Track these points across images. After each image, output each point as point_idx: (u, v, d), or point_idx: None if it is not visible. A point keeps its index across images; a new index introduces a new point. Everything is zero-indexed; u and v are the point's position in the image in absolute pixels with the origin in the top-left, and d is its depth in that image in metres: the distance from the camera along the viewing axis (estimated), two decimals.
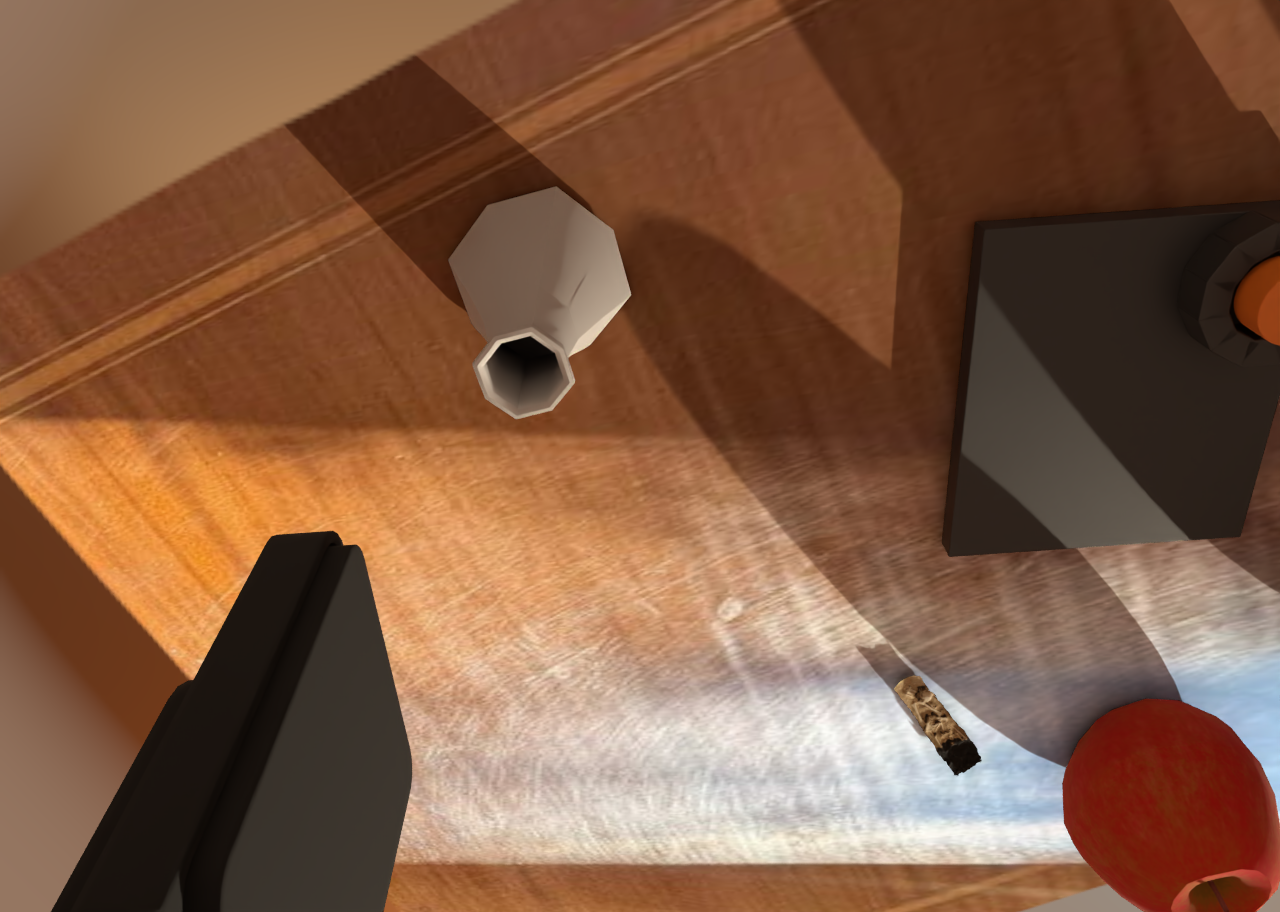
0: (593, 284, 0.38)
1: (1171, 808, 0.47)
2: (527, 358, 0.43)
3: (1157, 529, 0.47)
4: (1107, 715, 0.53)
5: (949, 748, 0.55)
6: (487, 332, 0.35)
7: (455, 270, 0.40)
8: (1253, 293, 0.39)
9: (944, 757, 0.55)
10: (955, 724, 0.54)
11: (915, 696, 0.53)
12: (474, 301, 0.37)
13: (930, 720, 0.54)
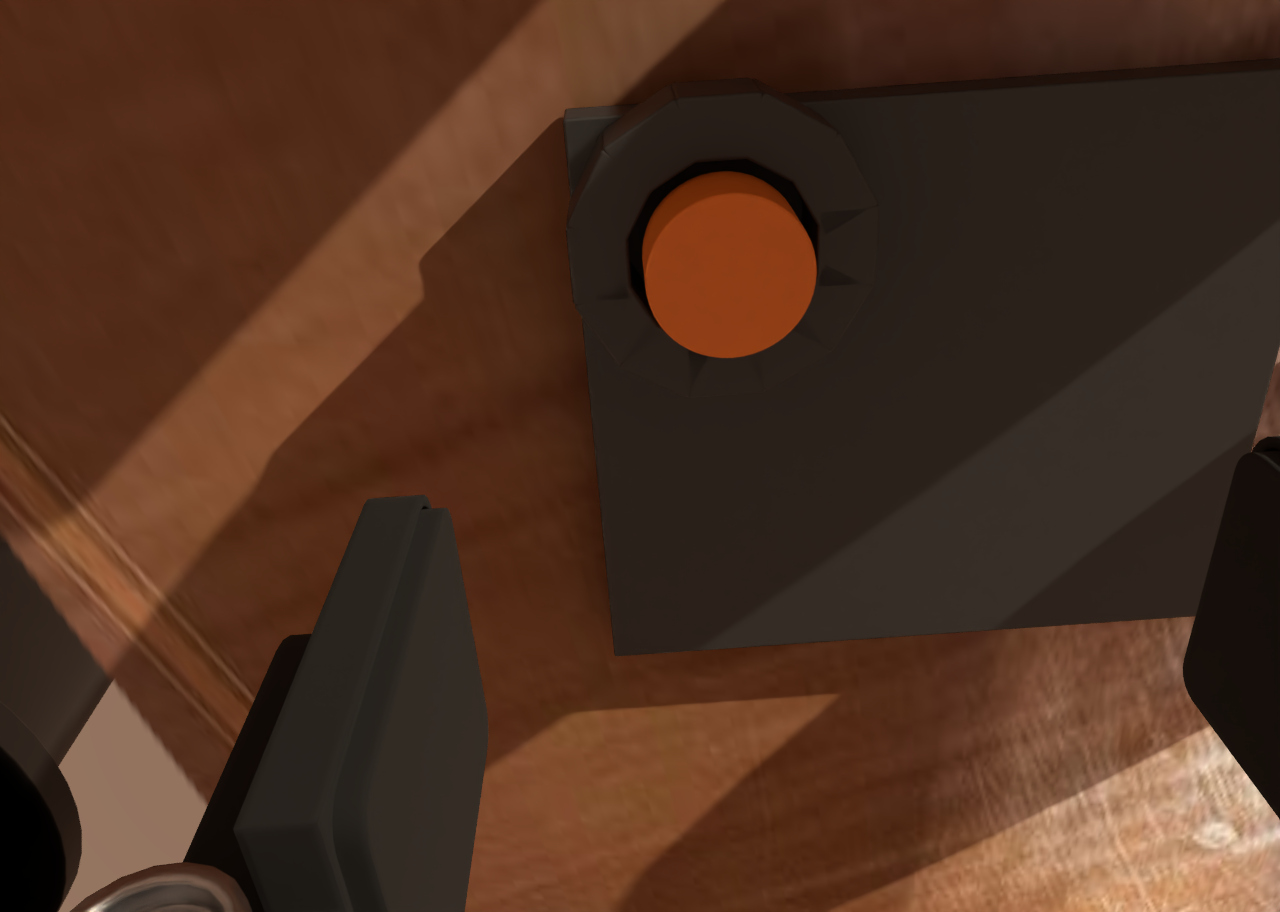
0: None
1: None
2: None
3: (1268, 265, 0.22)
4: None
5: None
6: None
7: None
8: None
9: None
10: None
11: None
12: None
13: None
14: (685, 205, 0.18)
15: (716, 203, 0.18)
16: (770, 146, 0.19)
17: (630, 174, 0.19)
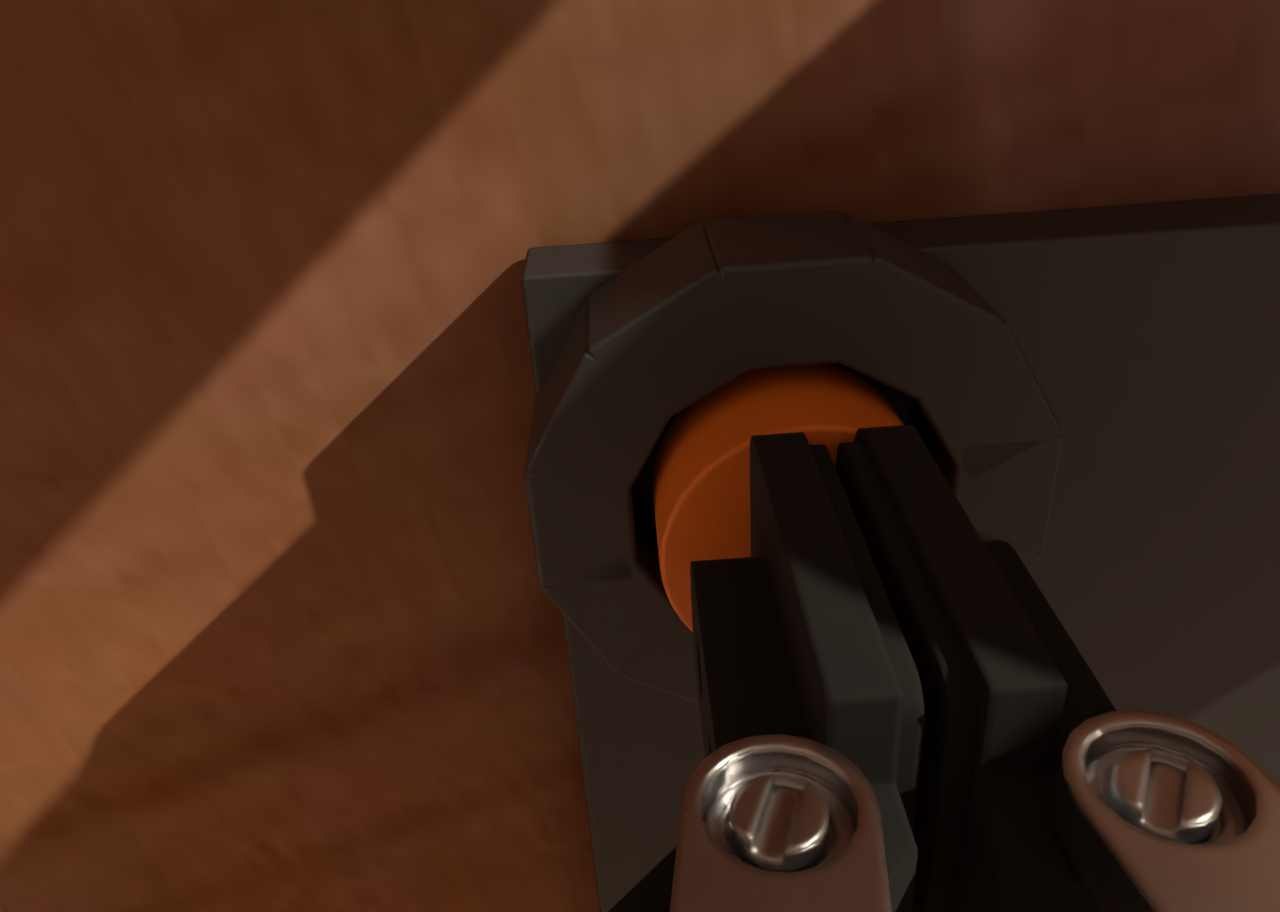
0: None
1: None
2: None
3: None
4: None
5: None
6: None
7: None
8: None
9: None
10: None
11: None
12: None
13: None
14: (731, 442, 0.10)
15: None
16: (882, 344, 0.10)
17: (635, 390, 0.11)
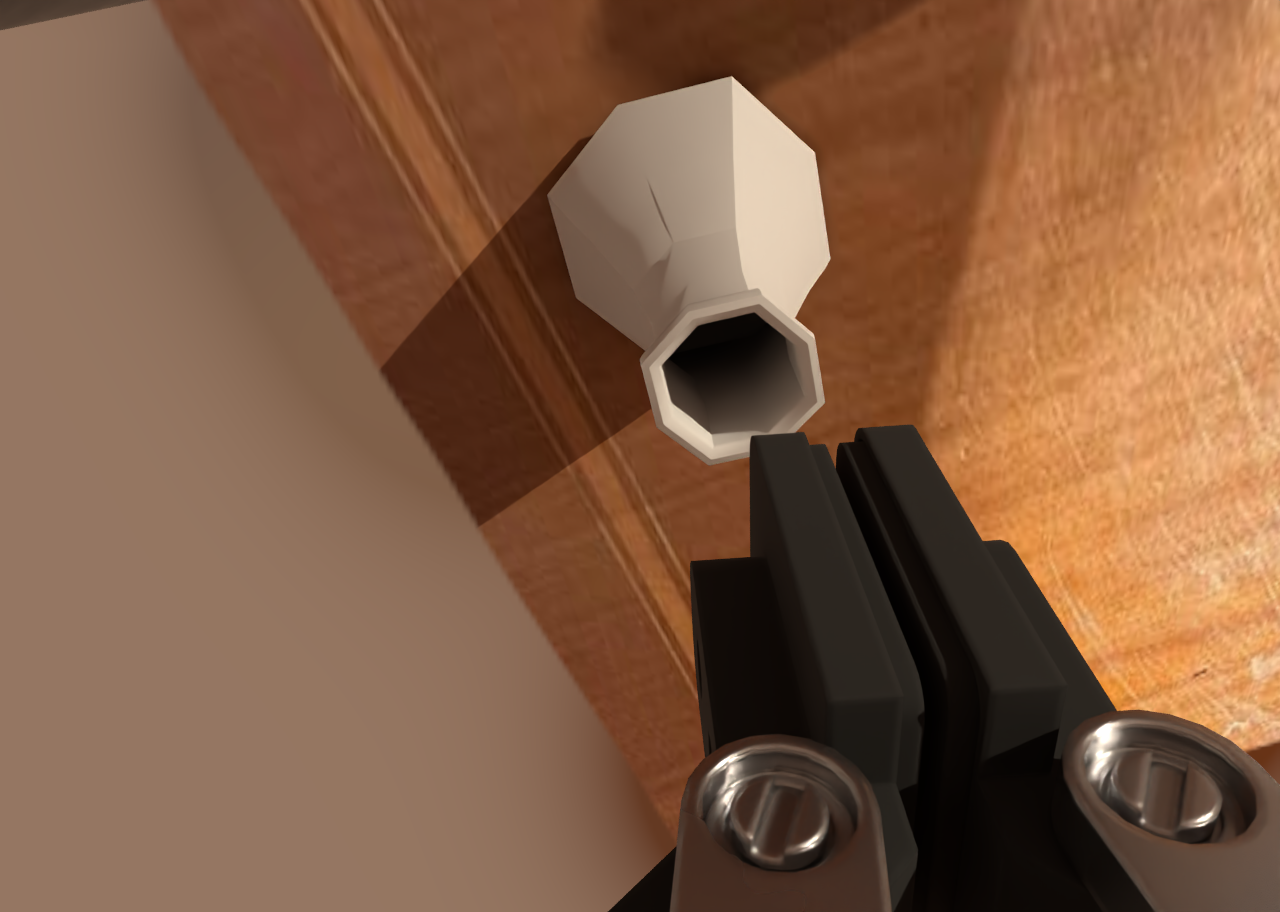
0: (674, 166, 0.22)
1: None
2: None
3: None
4: None
5: None
6: (695, 391, 0.21)
7: None
8: None
9: None
10: None
11: None
12: None
13: None
14: None
15: None
16: None
17: None
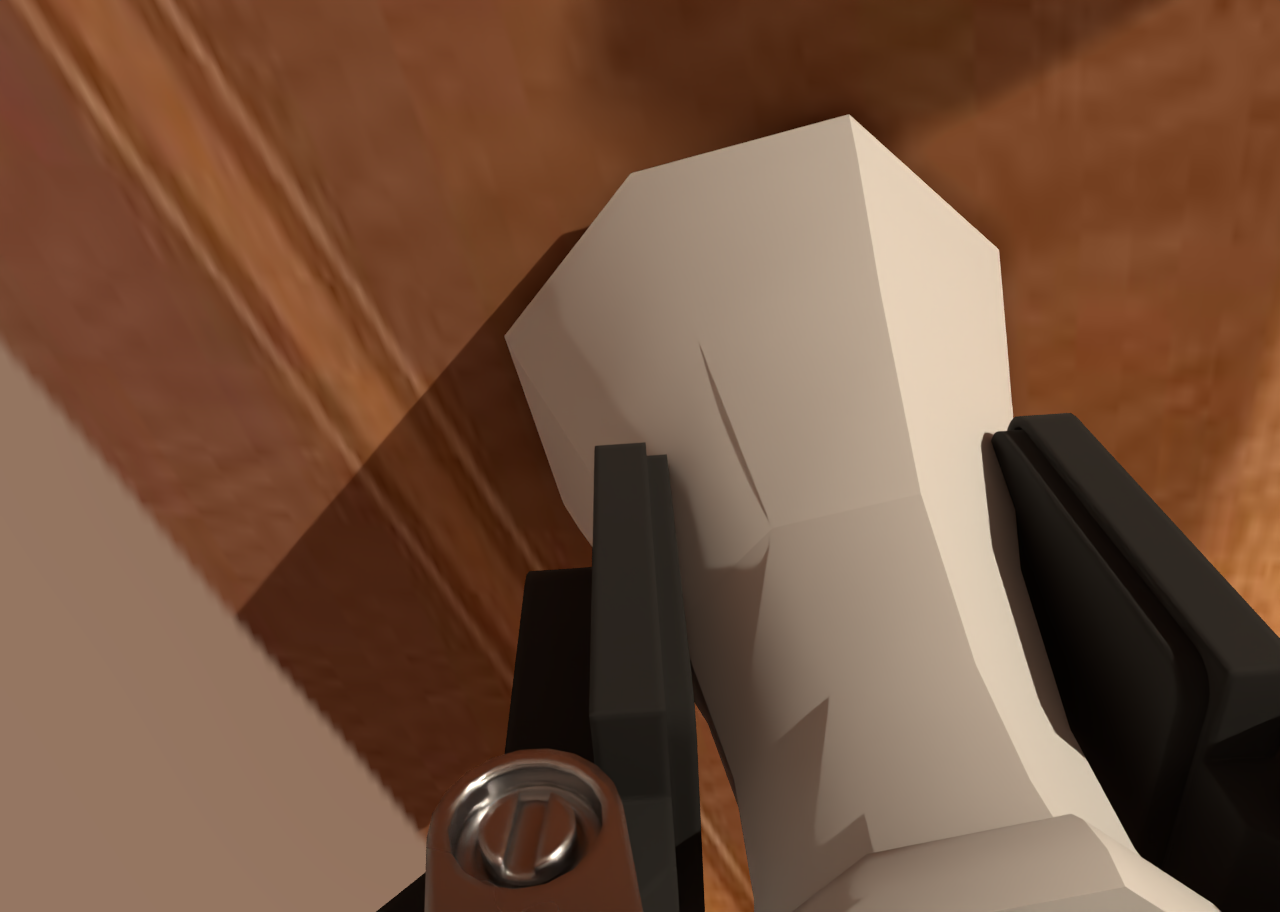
0: (754, 314, 0.11)
1: None
2: None
3: None
4: None
5: None
6: None
7: None
8: None
9: None
10: None
11: None
12: None
13: None
14: None
15: None
16: None
17: None
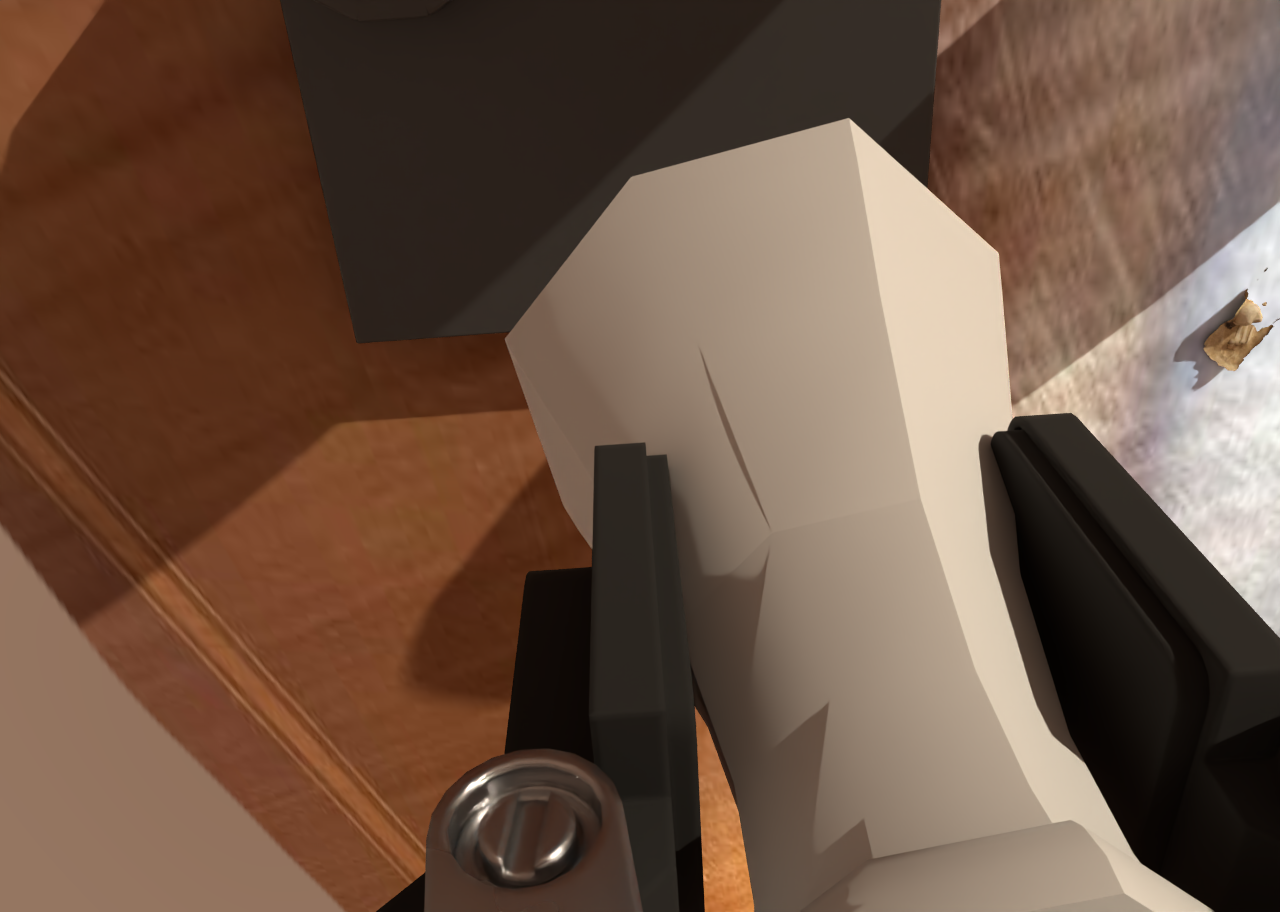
0: (754, 318, 0.11)
1: None
2: None
3: None
4: None
5: None
6: None
7: None
8: None
9: None
10: None
11: None
12: None
13: None
14: None
15: None
16: None
17: None
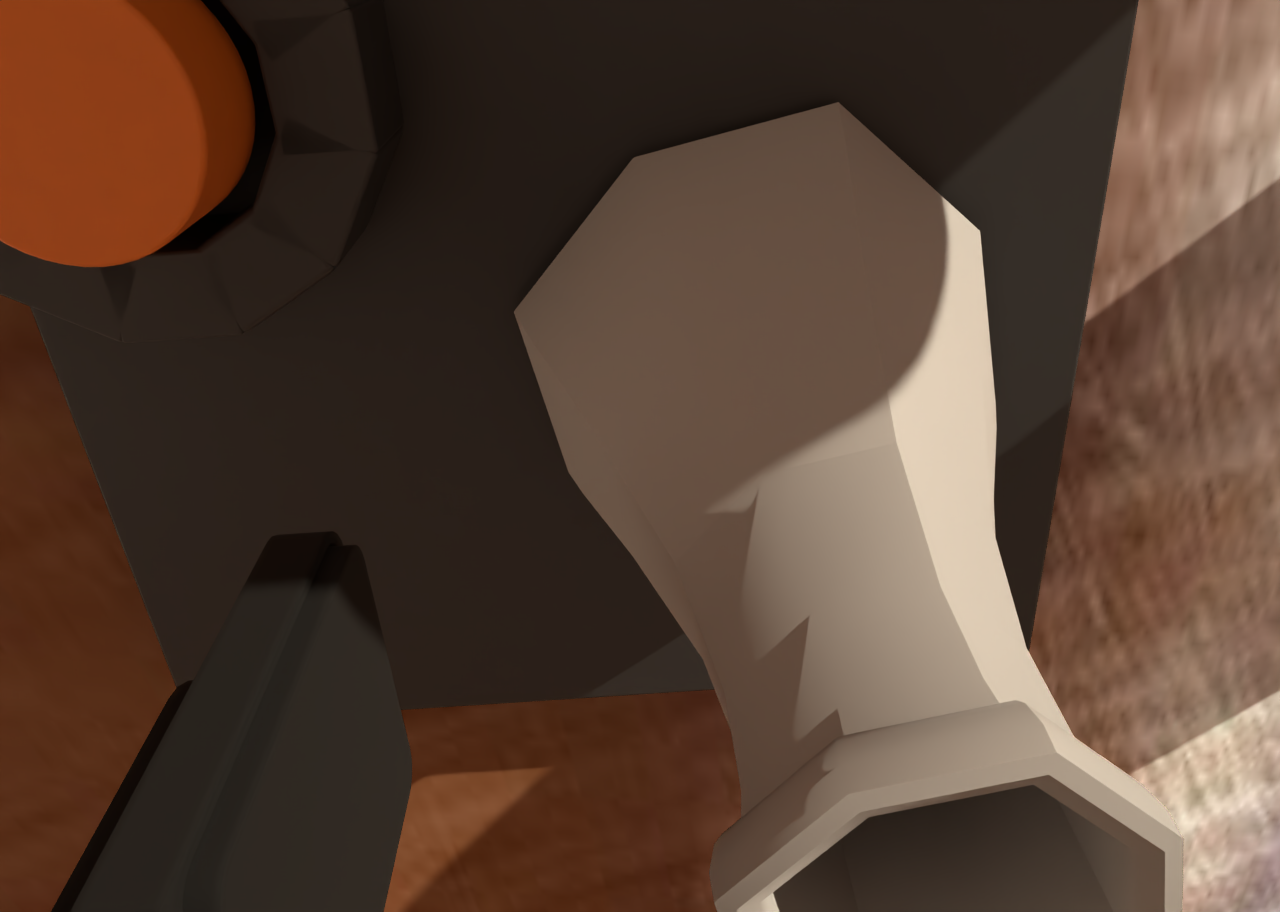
0: (748, 285, 0.11)
1: None
2: None
3: (1061, 140, 0.14)
4: None
5: None
6: None
7: None
8: None
9: None
10: None
11: None
12: None
13: None
14: None
15: None
16: None
17: None
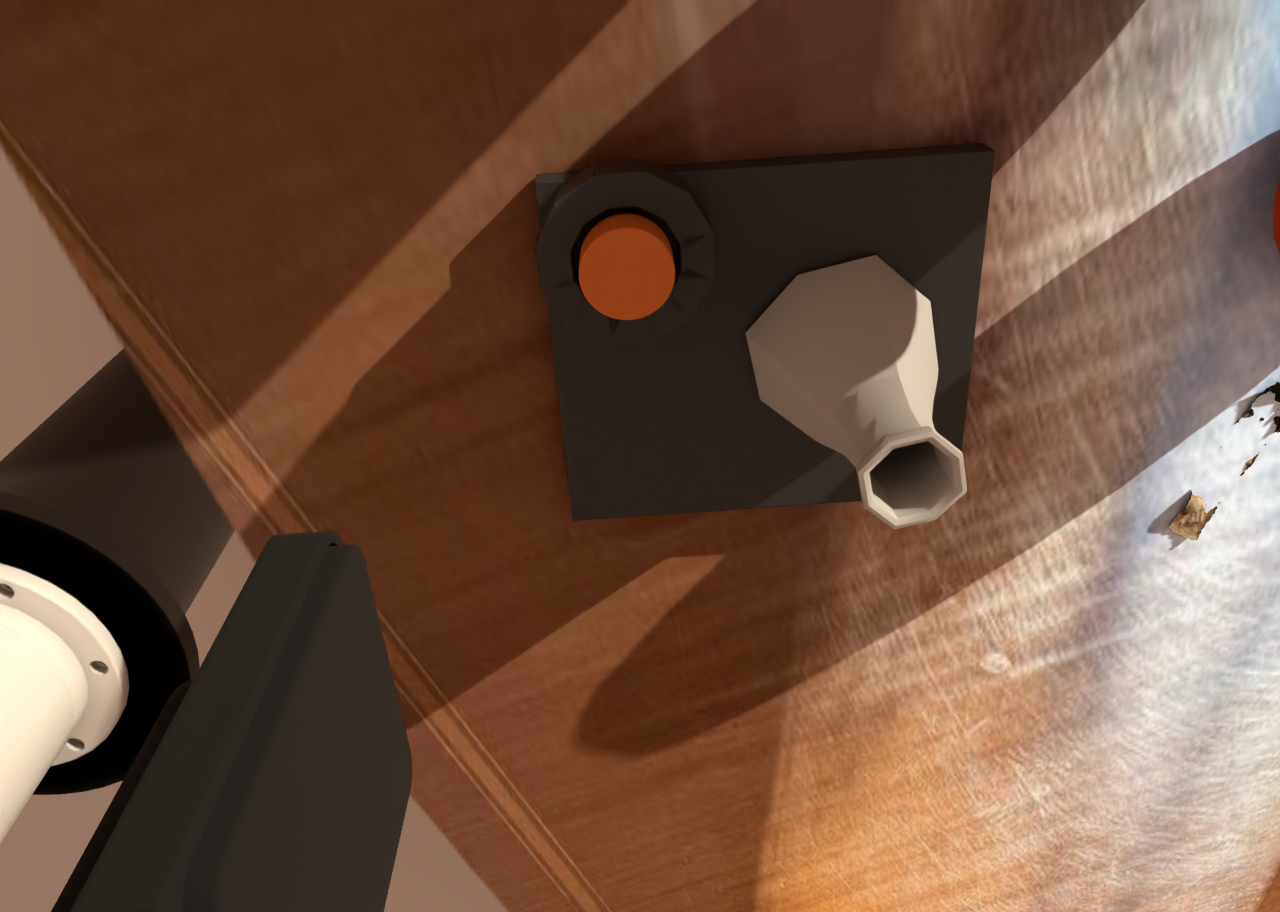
0: (847, 326, 0.34)
1: None
2: None
3: (961, 267, 0.36)
4: None
5: None
6: (872, 477, 0.32)
7: (821, 443, 0.38)
8: None
9: None
10: None
11: None
12: None
13: None
14: (600, 234, 0.32)
15: (616, 233, 0.32)
16: (649, 200, 0.33)
17: (571, 215, 0.33)
